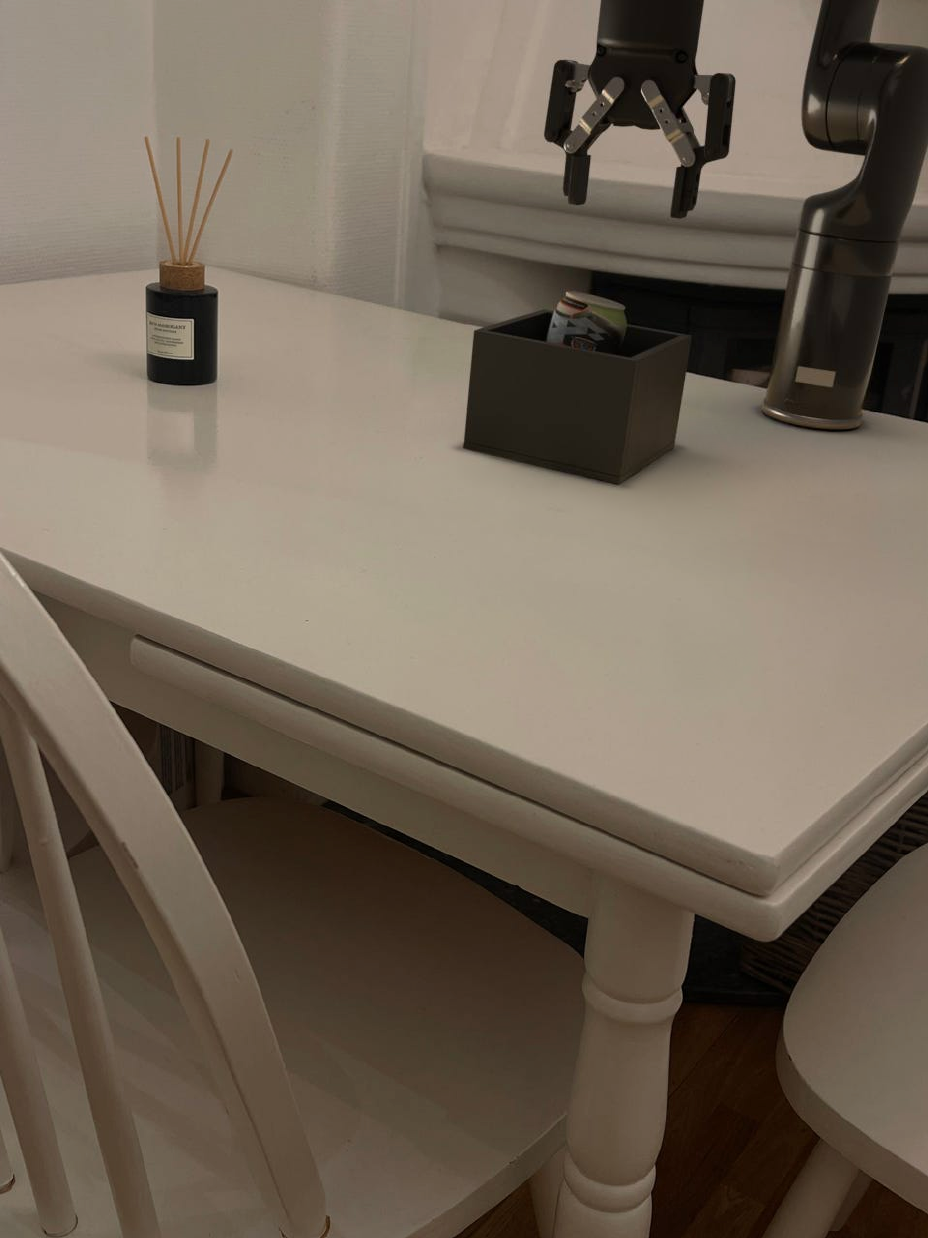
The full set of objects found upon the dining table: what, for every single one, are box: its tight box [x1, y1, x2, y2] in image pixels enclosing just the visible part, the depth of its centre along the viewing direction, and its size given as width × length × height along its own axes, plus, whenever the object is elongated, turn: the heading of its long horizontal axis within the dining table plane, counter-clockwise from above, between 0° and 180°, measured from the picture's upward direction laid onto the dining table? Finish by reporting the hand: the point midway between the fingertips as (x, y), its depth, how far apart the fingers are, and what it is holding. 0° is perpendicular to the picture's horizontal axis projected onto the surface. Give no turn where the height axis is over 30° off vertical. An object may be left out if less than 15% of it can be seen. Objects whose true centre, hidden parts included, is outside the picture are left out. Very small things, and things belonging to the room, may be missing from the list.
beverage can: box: [546, 290, 628, 356], centre depth 103 cm, size 6×7×12 cm
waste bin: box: [462, 308, 693, 485], centre depth 104 cm, size 14×14×10 cm
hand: (626, 210), depth 99 cm, fingers open, 8 cm apart
